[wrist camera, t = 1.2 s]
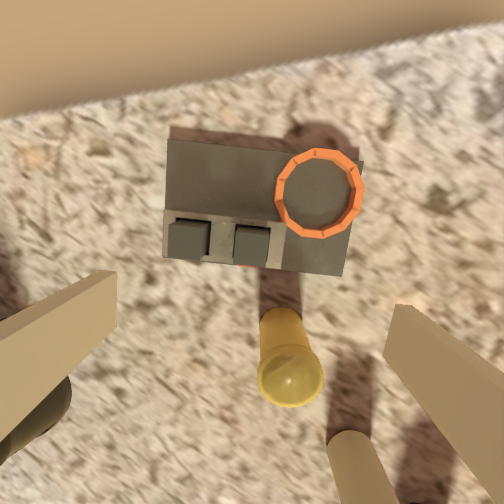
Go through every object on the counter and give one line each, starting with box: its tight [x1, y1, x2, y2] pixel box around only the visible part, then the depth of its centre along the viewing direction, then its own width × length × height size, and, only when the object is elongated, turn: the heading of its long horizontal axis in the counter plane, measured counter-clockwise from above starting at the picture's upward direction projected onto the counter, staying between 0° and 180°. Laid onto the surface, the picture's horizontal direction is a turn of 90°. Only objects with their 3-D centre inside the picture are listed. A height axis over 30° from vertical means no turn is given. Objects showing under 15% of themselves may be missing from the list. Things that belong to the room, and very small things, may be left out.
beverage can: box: [327, 430, 400, 504], centre depth 33 cm, size 6×6×12 cm
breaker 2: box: [233, 225, 269, 267], centre depth 27 cm, size 3×3×4 cm
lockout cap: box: [257, 307, 324, 407], centre depth 30 cm, size 6×6×10 cm
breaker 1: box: [167, 219, 210, 260], centre depth 27 cm, size 3×3×4 cm
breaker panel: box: [162, 139, 364, 277], centre depth 30 cm, size 21×13×5 cm, turn 84°
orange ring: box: [274, 148, 364, 239], centre depth 29 cm, size 9×9×2 cm
